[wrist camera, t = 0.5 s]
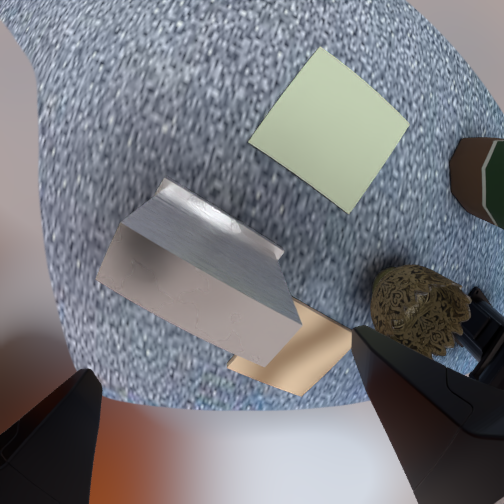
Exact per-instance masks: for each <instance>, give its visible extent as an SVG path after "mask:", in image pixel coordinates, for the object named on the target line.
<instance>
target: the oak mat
mask: <svg viewBox="0 0 504 504" xmlns="http://www.w3.org/2000/svg"><path fill="white" fill-rule="evenodd" d="M292 299H293V301H294V304H295V306H296V309H297V312H298V314H299V317H300V320H301V322H302V325H303V326H302V327H301V328H300V329H299V330H298V332H297V333H296V334H295V335H294V336H293V337H292V338H291V339H290V341H289V342H288V343H287V344H286V345H285V346H284V347H283V348H282V349H281V350H280V352H279V353H278V354H277V355H276V356H275V357H274V358H273V359H272V360H271V361H270V362H269V363H268V365H267V366H266V367H262V366H260V365H258V364H255V363H253V362H251V361H249V360H246V359H244V358H242V357H239V356H237V355H234V356H233V357H232V358H231V360H230V361H229V362H228V363H227V368H228V369H231V370H233V371H235V372H238V373H240V374H243V375H245V376H248V377H250V378H253V379H255V380H258V381H260V382H263V383H265V384H268V385H271V386H273V387H276V388H279V389H281V390H284V391H287V392H290V393H293V394H296V395H298V396H302V395H304V394H305V393H306V392H307V391H308V390H309V389H310V388H311V387H312V386H313V385H314V384H315V383H316V382H318V381H319V380H320V379H321V378H322V377H323V376H324V375H325V374H326V373H327V372H328V371H329V370H330V369H331V368H332V367H333V366H334V365H335V364H336V363H337V362H338V361H339V360H340V359H341V358H342V357H343V356H344V355H345V354H346V353H347V352H348V351H349V350H350V349H351V342H352V330H350V329H349V328H347V327H345V326H343V325H341V324H340V323H338V322H336V321H334V320H332V319H331V318H329V317H327V316H325V315H324V314H322V313H320V312H318V311H316V310H315V309H313V308H311V307H309V306H308V305H306V304H304V303H302V302H301V301H299V300H297V299H295V298H293V297H292Z"/></svg>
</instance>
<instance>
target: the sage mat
mask: <svg viewBox="0 0 504 504" xmlns="http://www.w3.org/2000/svg"><path fill="white" fill-rule="evenodd" d="M409 125H410V124H409V123H408V122H407V121H406V120H405V119H404V118H403V117H402V116H401V115H400V114H399V113H398V112H397V111H396V110H395V109H394V108H393V107H392V106H391V105H390V104H389V103H388V102H387V101H386V100H385V99H384V98H383V97H382V96H381V95H380V94H378V93H377V92H376V91H375V90H374V89H373V88H372V87H371V86H370V85H368V84H367V83H366V82H365V81H364V80H363V79H361V78H360V77H359V76H358V75H357V74H355V73H354V72H353V71H352V70H350V69H349V68H348V67H347V66H345V65H344V64H343V63H342V62H340V61H339V60H338V59H336V58H335V57H334V56H332V55H331V54H330V53H328V52H327V51H326V50H324V49H323V48H321V47H319V48H318V49H317V50H316V52H315V53H314V54H313V55H312V57H311V58H310V59H309V60H308V62H307V63H306V64H305V65H304V67H303V68H302V69H301V70H300V72H299V73H298V74H297V76H296V77H295V78H294V79H293V81H292V82H291V83H290V85H289V86H288V87H287V89H286V90H285V91H284V93H283V94H282V95H281V97H280V98H279V99H278V101H277V102H276V103H275V105H274V106H273V107H272V109H271V110H270V112H269V113H268V114H267V116H266V117H265V118H264V120H263V121H262V123H261V124H260V125H259V127H258V128H257V130H256V131H255V132H254V134H253V135H252V137H251V138H250V140H249V141H248V143H250V144H251V145H253V146H254V147H256V148H257V149H259V150H260V151H262V152H263V153H265V154H266V155H268V156H269V157H271V158H272V159H274V160H275V161H277V162H278V163H280V164H281V165H283V166H284V167H285V168H287V169H288V170H290V171H291V172H292V173H294V174H295V175H297V176H298V177H300V178H301V179H302V180H304V181H305V182H306V183H308V184H309V185H311V186H312V187H313V188H315V189H316V190H317V191H319V192H320V193H321V194H323V195H324V196H325V197H327V198H328V199H329V200H331V201H332V202H333V203H334V204H336V205H337V206H338V207H340V208H341V209H342V210H343V211H345V212H346V213H348V214H350V212H351V211H352V209H353V208H354V207H355V205H356V204H357V202H358V201H359V200H360V198H361V197H362V195H363V194H364V192H365V191H366V190H367V188H368V187H369V185H370V184H371V182H372V181H373V179H374V178H375V176H376V175H377V174H378V172H379V171H380V169H381V168H382V166H383V165H384V163H385V162H386V160H387V159H388V157H389V156H390V154H391V153H392V151H393V150H394V148H395V147H396V145H397V143H398V142H399V140H400V139H401V137H402V136H403V134H404V133H405V131H406V129H407V128H408V126H409Z"/></svg>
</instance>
